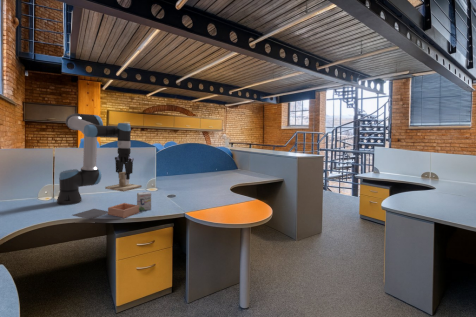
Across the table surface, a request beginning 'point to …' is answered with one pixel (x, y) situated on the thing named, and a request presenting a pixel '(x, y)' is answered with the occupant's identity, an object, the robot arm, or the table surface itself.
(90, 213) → the mat
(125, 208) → the reddish brown open box
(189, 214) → the table surface
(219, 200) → the table surface
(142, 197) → the ink box
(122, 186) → the light wood slatted piece
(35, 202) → the table surface
